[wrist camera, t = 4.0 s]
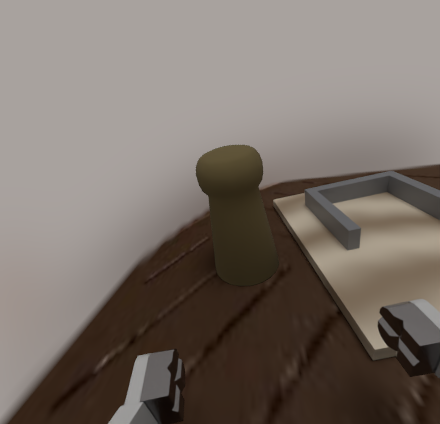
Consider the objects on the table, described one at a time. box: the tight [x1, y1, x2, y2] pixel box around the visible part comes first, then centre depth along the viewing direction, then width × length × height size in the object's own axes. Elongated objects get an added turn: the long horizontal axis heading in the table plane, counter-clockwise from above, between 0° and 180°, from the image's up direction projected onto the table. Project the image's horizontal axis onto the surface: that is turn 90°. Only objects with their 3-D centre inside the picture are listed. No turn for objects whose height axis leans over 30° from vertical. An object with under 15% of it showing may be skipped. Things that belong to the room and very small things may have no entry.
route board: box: [273, 192, 440, 360], centre depth 22 cm, size 20×16×1 cm
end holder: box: [305, 171, 440, 250], centre depth 23 cm, size 9×10×2 cm
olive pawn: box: [196, 145, 279, 286], centre depth 20 cm, size 6×6×11 cm
